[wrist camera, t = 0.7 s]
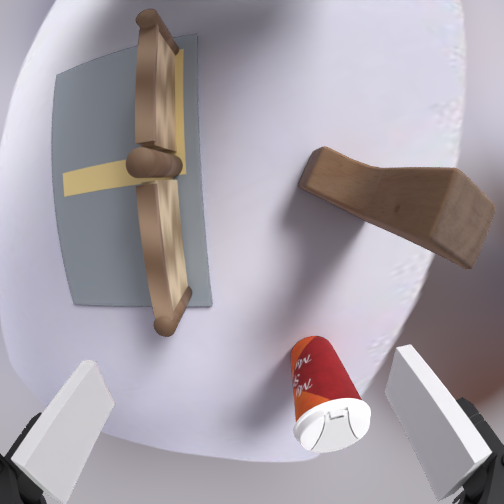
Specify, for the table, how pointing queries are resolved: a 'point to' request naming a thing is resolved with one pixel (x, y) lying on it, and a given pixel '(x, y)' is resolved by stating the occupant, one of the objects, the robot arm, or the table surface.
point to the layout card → (120, 179)
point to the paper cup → (325, 398)
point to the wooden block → (406, 202)
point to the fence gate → (163, 252)
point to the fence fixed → (154, 101)
